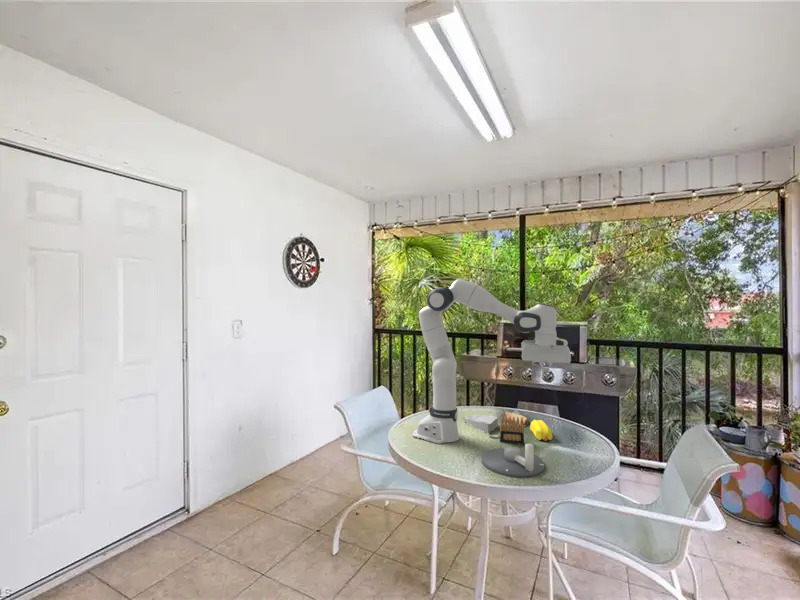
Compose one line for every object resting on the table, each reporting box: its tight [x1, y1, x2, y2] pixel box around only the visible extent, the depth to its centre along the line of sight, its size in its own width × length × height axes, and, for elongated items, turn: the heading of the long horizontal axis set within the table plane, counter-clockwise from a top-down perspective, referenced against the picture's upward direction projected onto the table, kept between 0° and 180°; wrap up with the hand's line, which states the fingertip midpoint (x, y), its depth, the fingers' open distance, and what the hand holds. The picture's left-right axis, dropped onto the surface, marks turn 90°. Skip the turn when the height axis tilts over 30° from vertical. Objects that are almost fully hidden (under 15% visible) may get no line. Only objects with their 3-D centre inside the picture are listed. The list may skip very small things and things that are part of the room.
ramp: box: [462, 414, 499, 434], centre depth 198 cm, size 28×16×5 cm, turn 5°
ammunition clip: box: [499, 415, 525, 445], centre depth 174 cm, size 11×2×12 cm, turn 76°
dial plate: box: [481, 447, 545, 478], centre depth 150 cm, size 24×24×2 cm
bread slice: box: [504, 411, 529, 426], centre depth 206 cm, size 18×18×4 cm
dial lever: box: [504, 443, 535, 471], centre depth 146 cm, size 15×6×9 cm, turn 20°
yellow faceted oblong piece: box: [529, 419, 553, 442], centre depth 182 cm, size 18×7×8 cm
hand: (545, 372), depth 165 cm, fingers closed
